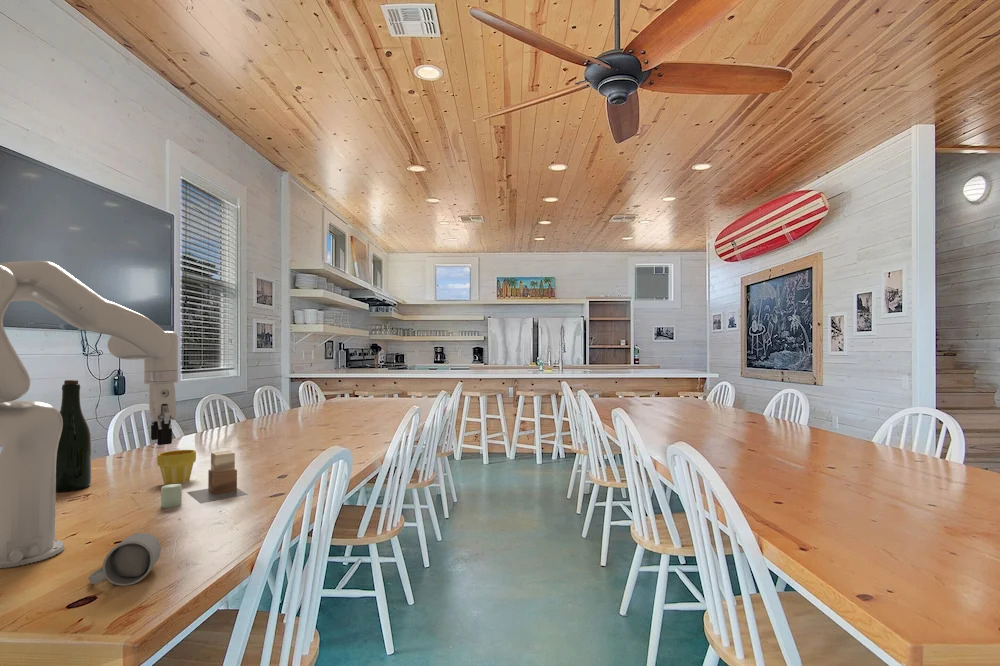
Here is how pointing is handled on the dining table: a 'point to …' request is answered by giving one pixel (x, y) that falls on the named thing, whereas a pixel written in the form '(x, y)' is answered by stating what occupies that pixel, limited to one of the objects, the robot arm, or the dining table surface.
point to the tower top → (222, 461)
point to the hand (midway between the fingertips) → (161, 441)
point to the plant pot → (176, 465)
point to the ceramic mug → (129, 560)
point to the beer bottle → (73, 442)
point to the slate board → (207, 496)
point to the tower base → (222, 481)
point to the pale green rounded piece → (171, 495)
